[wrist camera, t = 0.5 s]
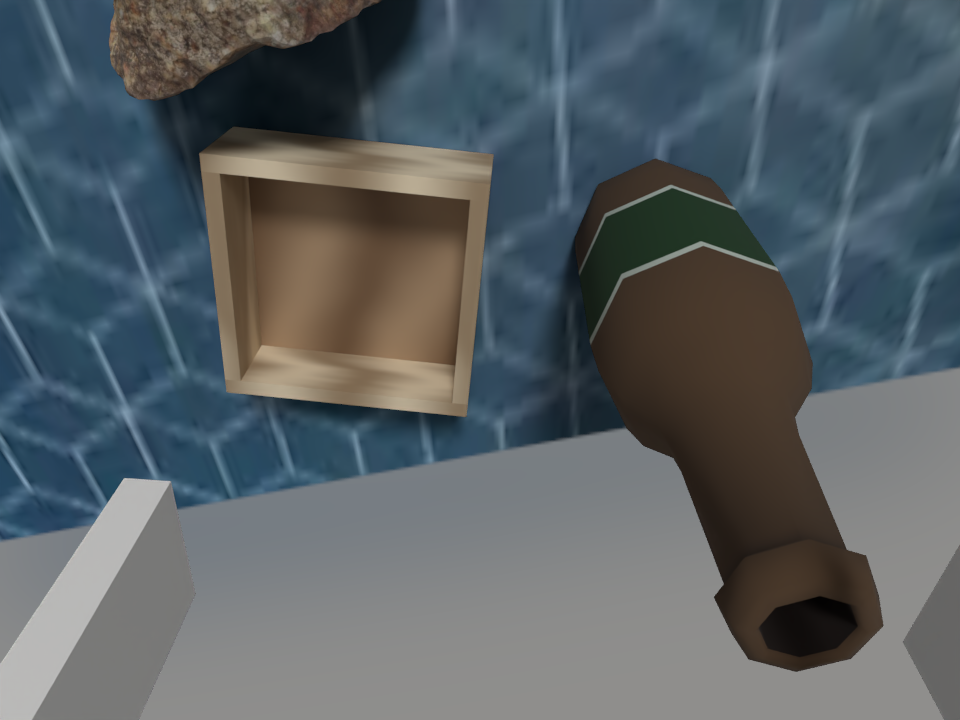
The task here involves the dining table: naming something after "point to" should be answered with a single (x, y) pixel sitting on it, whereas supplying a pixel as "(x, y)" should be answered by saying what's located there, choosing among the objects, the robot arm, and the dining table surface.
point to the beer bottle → (723, 405)
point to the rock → (209, 36)
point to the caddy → (346, 267)
